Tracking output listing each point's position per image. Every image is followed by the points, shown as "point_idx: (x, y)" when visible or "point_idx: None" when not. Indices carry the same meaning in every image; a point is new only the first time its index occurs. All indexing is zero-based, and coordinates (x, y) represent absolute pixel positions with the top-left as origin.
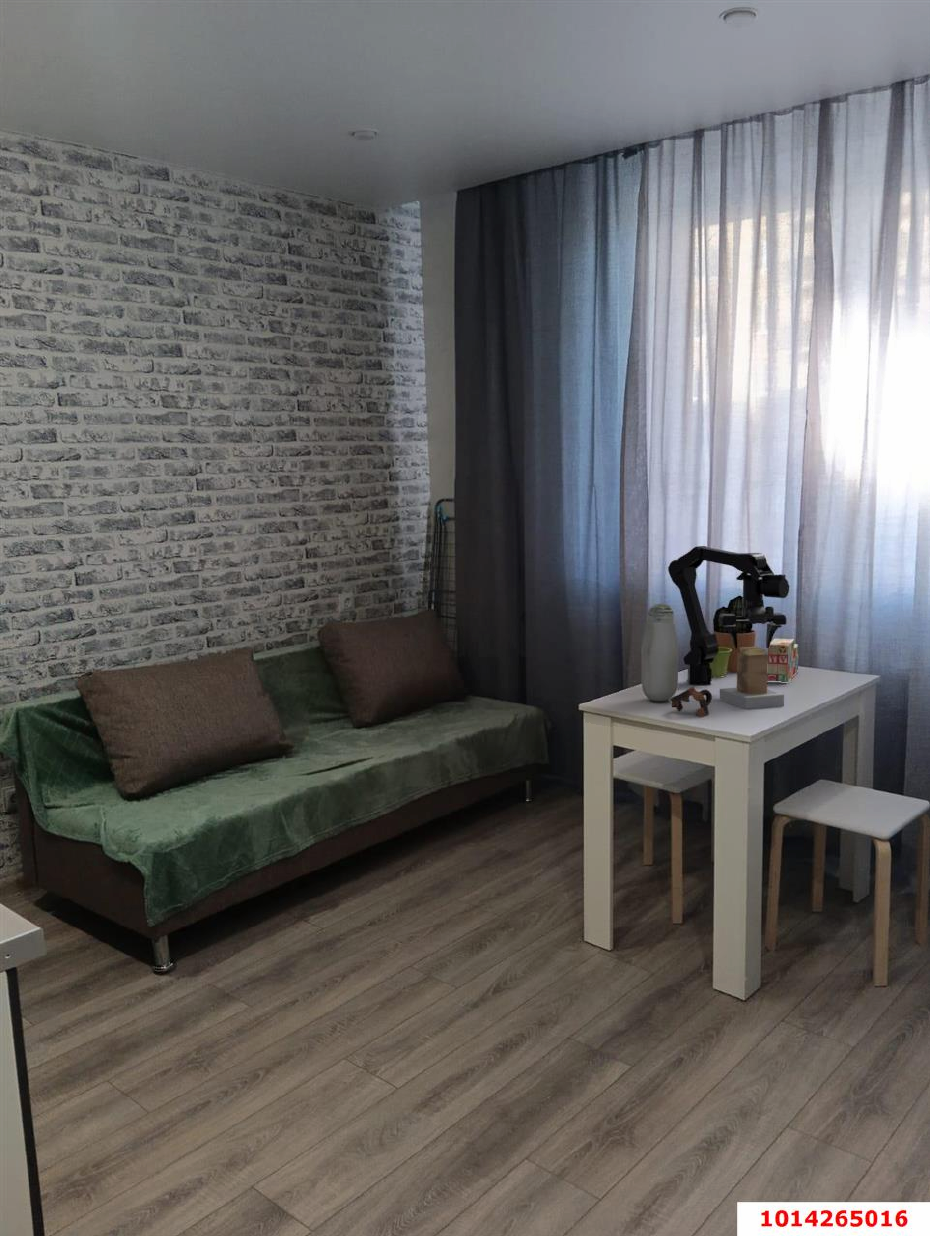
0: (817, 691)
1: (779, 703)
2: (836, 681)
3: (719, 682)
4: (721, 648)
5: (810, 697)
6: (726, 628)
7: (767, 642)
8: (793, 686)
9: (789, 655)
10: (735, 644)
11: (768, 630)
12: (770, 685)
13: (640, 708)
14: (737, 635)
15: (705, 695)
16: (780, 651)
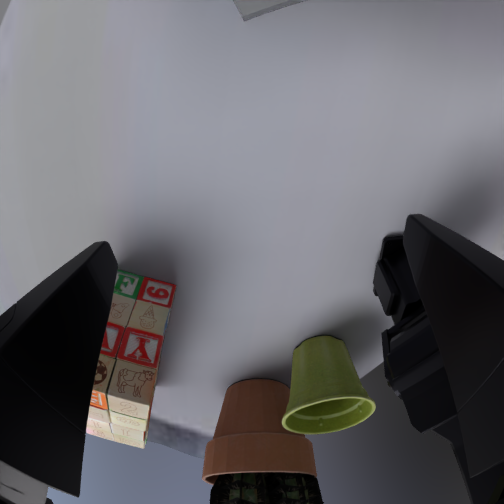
0: (18, 158)
1: None
2: (15, 292)
3: (339, 277)
4: (304, 429)
5: (34, 46)
6: (289, 486)
7: (84, 274)
8: (90, 228)
9: None
10: (445, 230)
11: (42, 407)
12: (164, 240)
13: None
14: (259, 467)
15: None
16: (103, 366)
